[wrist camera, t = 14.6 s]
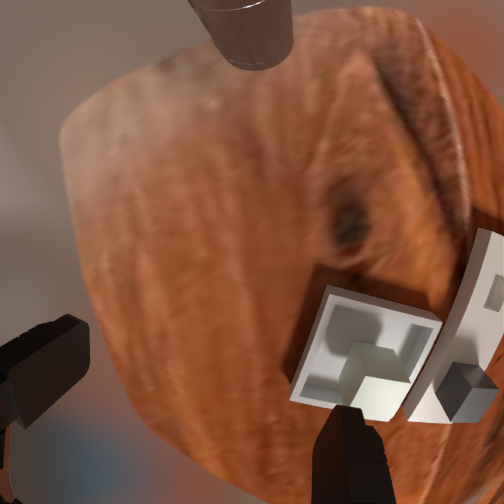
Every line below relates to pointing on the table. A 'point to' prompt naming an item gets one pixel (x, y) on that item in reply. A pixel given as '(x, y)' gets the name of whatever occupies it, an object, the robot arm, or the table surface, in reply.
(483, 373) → the block
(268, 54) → the robot arm
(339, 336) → the tray
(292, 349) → the table surface
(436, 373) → the flat gray board
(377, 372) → the block
